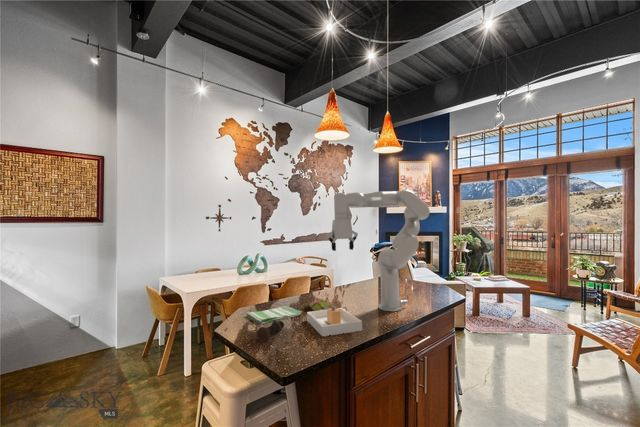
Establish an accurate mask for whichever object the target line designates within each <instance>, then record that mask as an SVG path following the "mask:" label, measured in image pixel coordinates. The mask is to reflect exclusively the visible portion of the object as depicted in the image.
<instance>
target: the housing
mask: <svg viewBox="0 0 640 427" xmlns="http://www.w3.org/2000/svg"><path fill="white" fill-rule="evenodd" d="M335 308H336V307H335ZM336 309H338V310H339V311H340V316H341V323H339V324H332V325H330V324H329V323H328V322H327V310H320V311H313V310H312V311H307V312H306V321H307V322H308V323H309V325H311V326H312V327H313V328H314V329H315V331H316V332H317V333H318V334H319V335H320V336H321V337H323V336H324V337H328V336H329V335H331V336H336V335H342V334H343V333H344V334H349V333H354V332H356V331H357V332H362V331H363V320H361V319H360V318H358V317H356V316H354V314H351V313H350V312H348V311H347V310H346V309H344V308H343V307H338V308H336ZM324 337H323V338H324ZM329 337H330V336H329Z"/></svg>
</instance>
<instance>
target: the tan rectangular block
mask: <svg viewBox="0 0 640 427" xmlns="http://www.w3.org/2000/svg"><path fill="white" fill-rule="evenodd" d="M327 322H328V323H329V324H330V325H332V324H339V323H341V316H340V311H339V310H338V309H336V306H335V305H332V308H329V309H327Z"/></svg>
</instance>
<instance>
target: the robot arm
mask: <svg viewBox="0 0 640 427" xmlns="http://www.w3.org/2000/svg"><path fill="white" fill-rule="evenodd" d="M333 201H334V202H333V204H334V207H333V208H334V219H333V220H332V223H331V224H332V225H331V226H332V227H331V231H330V232H328V233H326V237H327V240H328V241H329V242H330V243H331V251H334V252H336V251H337V244H336V241H337V240H345V239H348V240H349V242H348V243H349V244H348V245H349V246H348V247H349V250H352V251H353V250H354V242H355V241H356V240H357V237H358V235H359V233H358V232H356V231H354V230H353V226H352V221H351V219H350V218H352V214H350V208H351V209H356V208H390V207H393V208H394V207H395V208H396V207H397V208H398V207H405V206H406V207H405V209H404V212H403V213H404V214H403V215H404V220H405V221H404V222H405V223H404V225H403V226H402V228H401V229H400V230H399V232H398V233H397V234H396V235H395V236H394V238H393V239H392V241H391V242H392V243H391V245H392V248H393V249H392V248H385V249H384V248H383V249H382V250H381V251H380V252H379V254H378V265H379V271H380V304H379V305H378V309H379V310H381V311H384V312H400V311H402V310H403V309H404V306H403V305H404V304H408V300H407V299H401V298H400V282H399V281H400V278H399V277H400V274H399V270H400V269H402V268H404V267H405V266H406V265H407V264H408V262H409V261H410V260H411V259H412V258H413V256H414V255H415V253H416V252H417V251H418V249H419V240H418V238H417V236H418V234H419V232H420V231H421V230H420V229H421V228H420V227H421V226H420V221H423V220H426V219H427V218H428V217H429V216H430V213H431V212H430V211H431V210H430V208H429V206H428V205H427V204H426V203H425V201H423V199H421V198H420V197H419V196H418V195H417V194H416V193H414V192H413V191H412V190H410V189H403V190H389V191H388V190H387V191H386V190H384V191H383V190H382V191H373V192H369V193H368V192H367V193H361V192H359V191H358V192H350V193H349V192H337V193H335V194H334V197H333Z"/></svg>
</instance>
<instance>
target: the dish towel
mask: <svg viewBox="0 0 640 427" xmlns="http://www.w3.org/2000/svg"><path fill="white" fill-rule="evenodd" d="M302 313H303V311H302V310H297V309H296V308H293V307H290V306H288V305H283V306H279V307H275V308H270V309H267V310H266V309H265V310H260V311H259V310H258V311H248V312H247V311H246V317H247V318H249V319H250V320H252V321H253V322H255V321H256V322H255V323H257V324H259V325H265V324H270V323H273V322H274V321H277V322H278V321H282V320H286V319H290V318H294V317H298V316H301V315H302Z"/></svg>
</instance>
